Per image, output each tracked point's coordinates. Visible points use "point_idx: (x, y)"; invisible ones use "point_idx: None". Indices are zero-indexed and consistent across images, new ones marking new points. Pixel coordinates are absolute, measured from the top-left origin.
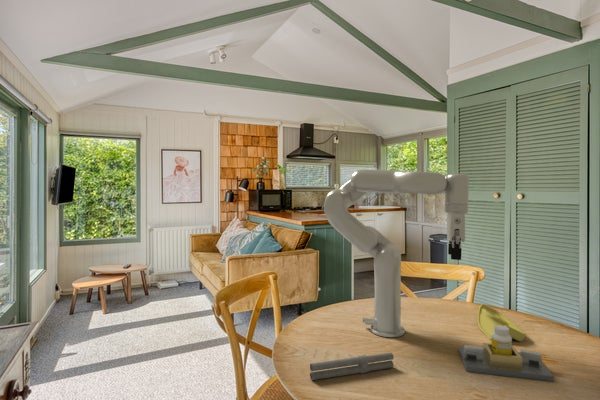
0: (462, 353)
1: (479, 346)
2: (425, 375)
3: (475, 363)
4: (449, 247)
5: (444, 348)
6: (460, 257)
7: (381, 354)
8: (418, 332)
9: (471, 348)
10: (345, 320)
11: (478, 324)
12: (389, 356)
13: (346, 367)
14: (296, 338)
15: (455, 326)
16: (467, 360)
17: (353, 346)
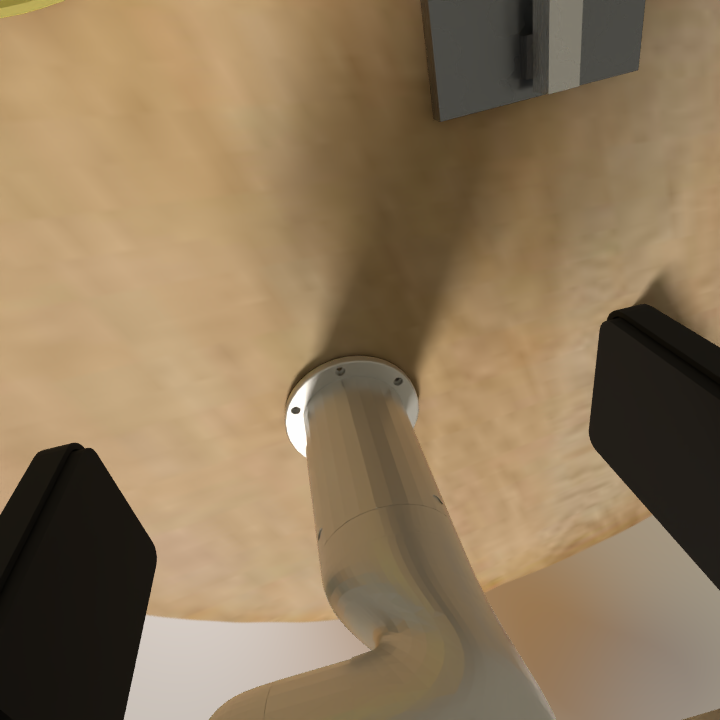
0: (518, 96)
1: (550, 5)
2: (669, 212)
3: (606, 29)
4: (126, 685)
5: (431, 183)
6: (665, 330)
7: None
8: (303, 314)
9: (580, 50)
10: None
11: (10, 15)
12: None
13: None
14: (511, 556)
15: (99, 166)
16: (583, 68)
17: (518, 443)
